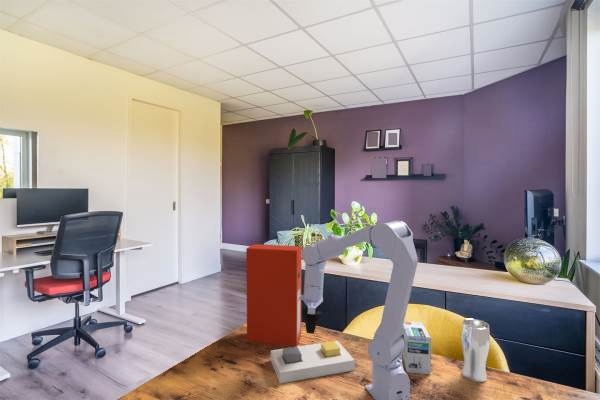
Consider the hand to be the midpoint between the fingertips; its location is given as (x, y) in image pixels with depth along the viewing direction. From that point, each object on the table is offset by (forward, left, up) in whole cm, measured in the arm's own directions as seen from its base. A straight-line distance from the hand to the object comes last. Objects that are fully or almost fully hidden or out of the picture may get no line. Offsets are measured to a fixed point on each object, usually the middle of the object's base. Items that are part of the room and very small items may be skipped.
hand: (310, 326), depth 98 cm
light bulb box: (-11, -29, -10) cm, 33 cm away
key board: (-3, +1, -10) cm, 11 cm away
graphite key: (-3, +7, -8) cm, 11 cm away
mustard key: (-3, -5, -8) cm, 10 cm away
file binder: (+16, +8, -10) cm, 20 cm away
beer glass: (-21, -41, -10) cm, 47 cm away
